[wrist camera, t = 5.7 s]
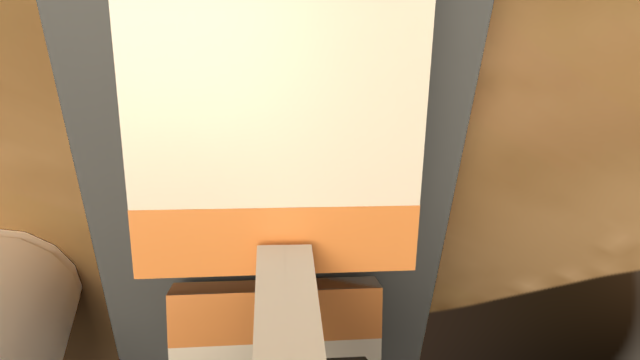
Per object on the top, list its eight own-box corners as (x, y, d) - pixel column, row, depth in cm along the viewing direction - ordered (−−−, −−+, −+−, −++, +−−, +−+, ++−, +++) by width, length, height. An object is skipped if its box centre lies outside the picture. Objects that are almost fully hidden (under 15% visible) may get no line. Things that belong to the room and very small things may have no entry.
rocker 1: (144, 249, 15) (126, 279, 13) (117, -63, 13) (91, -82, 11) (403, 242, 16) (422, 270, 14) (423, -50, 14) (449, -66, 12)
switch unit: (150, 358, 27) (126, 455, 23) (63, -117, 16) (-25, -127, 11) (396, 346, 29) (422, 435, 24) (471, -95, 18) (549, -96, 13)
